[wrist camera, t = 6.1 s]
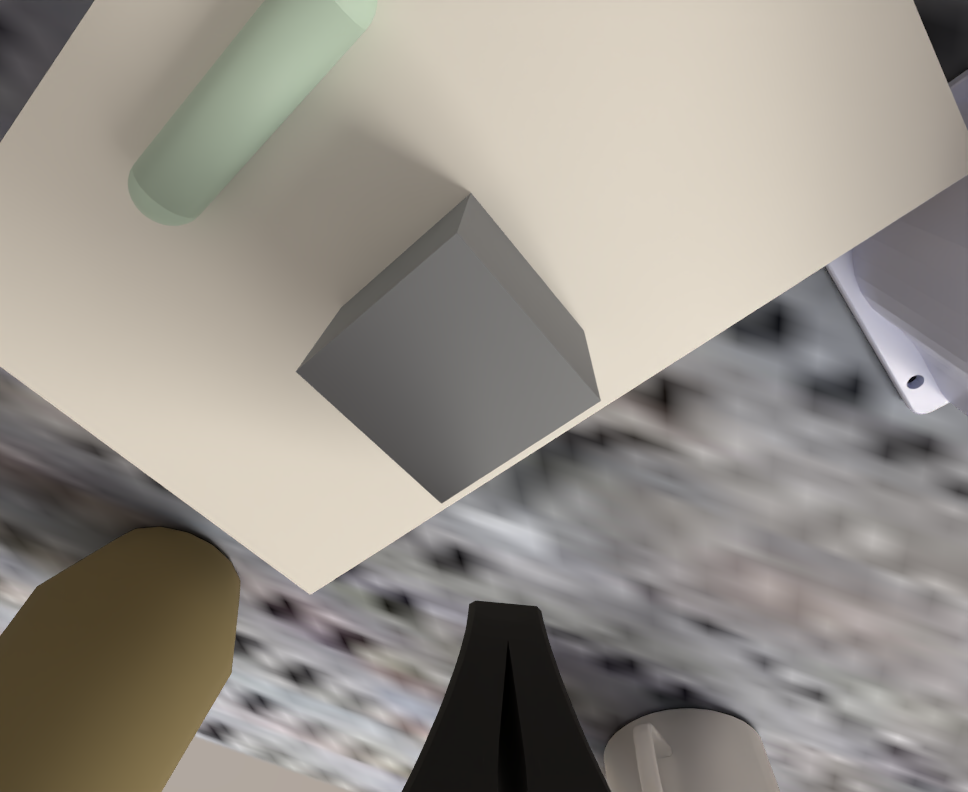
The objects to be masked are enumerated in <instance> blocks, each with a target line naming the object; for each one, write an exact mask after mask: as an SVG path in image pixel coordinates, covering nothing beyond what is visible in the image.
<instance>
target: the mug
mask: <svg viewBox="0 0 968 792" xmlns="http://www.w3.org/2000/svg"><path fill="white" fill-rule="evenodd" d="M604 764H605V772H606V779H607V784H608V786H609V788H610V790H611V792H780V790H779V787H778V784H777V781H776V779H775V776H774V773H773V770H772V768H771V765H770V762H769V759H768V757H767V754H766V751H765V748H764V746H763V743H762V740H761V737H760V736H759V735H758V733H757V732H756V731H755V729H753V728H752V727H751V726H749V725H748V724H747V723H745V722H744V721H742V720H740V719H737V718H735V717H733V716H730V715H727V714H723V713H720V712H716V711H712V710H706V709H699V708H679V709H669V710H664V711H659V712H654V713H651V714H648V715H645V716H642V717H640V718H638V719H636V720H634V721H632V722H630V723H629V724H627V725H626V726H624V727H623V728H622V729H620V730H619V731H618V732H616V733H615V734H614V736H613V737H612V738H611V739H610V740H609V742H608V744H607V746H606V748H605V751H604Z"/></svg>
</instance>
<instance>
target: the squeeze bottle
mask: <svg viewBox="0 0 968 792" xmlns="http://www.w3.org/2000/svg"><path fill="white" fill-rule="evenodd" d="M239 596H240V579H239V577H238V575H237V573H236V571H235V569H234V567H233V565H232V563H231V562H230V561H229V560H228V559H227V558H226V557H225V556H224V555H223V554H222V553H221V552H220V551H219V550H218V549H216V548H215V547H214V546H213V545H212V544H210V543H208V542H206V541H204V540H202V539H200V538H198V537H196V536H194V535H192V534H190V533H188V532H183V531H178V530H174V529H169V528H164V527H151V528H139V529H134V530H132V531H130V532H128V533H126V534H125V535H123V536H121V537H119V538H117V539H115V540H114V541H112V542H110V543H109V544H107V545H105V546H104V547H102V548H100V549H99V550H97V551H95V552H94V553H92V554H90V555H89V556H87V557H85V558H84V559H82V560H80V561H79V562H77V563H75V564H74V565H72V566H70V567H69V568H67V569H65V570H64V571H62V572H60V573H59V574H57V575H55V576H54V577H52V578H50V579H49V580H47V581H45V582H44V583H42V584H40V585H39V586H37V587H36V589H35V590H34V591H33V593H32V594H31V595H30V597H29V598H28V599H27V601H26V602H25V603H24V605H23V606H22V607H21V609H20V610H19V612H18V613H17V614H16V616H15V617H14V618H13V620H12V621H11V622H10V624H9V625H8V626H7V628H6V629H5V630H4V632H3V633H2V634H1V636H0V792H162V790H163V788H164V787H165V785H166V783H167V781H168V780H169V778H170V776H171V775H172V773H173V771H174V770H175V768H176V766H177V764H178V762H179V761H180V759H181V757H182V756H183V754H184V753H185V751H186V749H187V747H188V745H189V744H190V742H191V741H192V739H193V737H194V736H195V734H196V732H197V731H198V729H199V727H200V725H201V724H202V722H203V720H204V719H205V717H206V715H207V714H208V712H209V710H210V708H211V707H212V705H213V703H214V702H215V700H216V698H217V697H218V695H219V693H220V691H221V690H222V688H223V686H224V685H225V683H226V681H227V680H228V678H229V676H230V675H231V672H232V663H233V653H234V644H235V634H236V625H237V616H238V606H239Z"/></svg>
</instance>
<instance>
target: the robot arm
mask: <svg viewBox="0 0 968 792" xmlns="http://www.w3.org/2000/svg"><path fill="white" fill-rule="evenodd" d="M948 85H949V87H950V90H951V92H952V94H953V97H954V99H955V101H956V104H957V106H958V109H959V111H960V113H961V116H962V118H963V121H964V123H965V125H966V128H967V130H968V69H967V70H966V71H965V72H963V73H962V74H960V75H959V76H957V77H956V78H955V79H953V80H952V81H950V82H949V83H948ZM825 267H826V269H827V270H828V272H829V274H830V275H831V277H832V279H833V281H834V282H835V284H836V286H837V287H838V289H839V291H840V293H841V294H842V296H843V298H844V300H845V301H846V303H847V305H848V306H849V308H850V310H851V312H852V313H853V315H854V317H855V318H856V320H857V322H858V324H859V325H860V327H861V329H862V331H863V332H864V334H865V336H866V337H867V339H868V341H869V343H870V344H871V346H872V348H873V349H874V351H875V353H876V355H877V356H878V358H879V360H880V361H881V363H882V365H883V367H884V368H885V370H886V372H887V374H888V375H889V377H890V379H891V380H892V382H893V384H894V386H895V387H896V389H897V391H898V392H899V394H900V396H901V398H902V399H903V401H904V403H905V405H906V406H907V407H908V408H909V409H911V410H912V411H913V412H914V413H917V414H926V413H929V412H932V411H934V410H936V409H938V408H939V407H941V406H943V405H945V404H947V403H949V402H950V403H951V404H953V405H954V406H955V407H957V408H958V409H959V410H960V411H962V412H963V413H964V414H965V415H967V416H968V175H967V176H965V177H963V178H962V179H960V180H959V181H957V182H956V183H954V184H952V185H951V186H949V187H948V188H946V189H945V190H943V191H942V192H940V193H938V194H937V195H935V196H934V197H932V198H931V199H929V200H927V201H926V202H924V203H923V204H921V205H920V206H918V207H916V208H915V209H913V210H912V211H910V212H909V213H907V214H905V215H904V216H902V217H901V218H899V219H898V220H896V221H895V222H893V223H891V224H890V225H888V226H887V227H885V228H884V229H882V230H880V231H879V232H877V233H876V234H874V235H873V236H871V237H869V238H868V239H866V240H865V241H863V242H862V243H860V244H859V245H857V246H855V247H854V248H852V249H851V250H849V251H848V252H846V253H844V254H843V255H841V256H840V257H838V258H837V259H835V260H833V261H832V262H830V263H829V264H827V265H826V266H825ZM916 375H917V377H916V379H915V380H913V381H912V382H910V383H907V382H908V380H909V379H910V378H911V377H913V376H916ZM402 792H611V790H610V788H609V786H608V784H607V782H606V780H605V778H604V776H603V774H602V772H601V770H600V768H599V766H598V763H597V761H596V759H595V757H594V755H593V753H592V751H591V748H590V746H589V744H588V742H587V740H586V737H585V735H584V733H583V730H582V728H581V726H580V724H579V721H578V719H577V716H576V714H575V711H574V709H573V706H572V704H571V701H570V699H569V696H568V694H567V692H566V689H565V686H564V684H563V681H562V678H561V676H560V673H559V670H558V667H557V664H556V661H555V658H554V655H553V652H552V649H551V646H550V643H549V640H548V636H547V633H546V629H545V625H544V622H543V617H542V613H541V610H540V609H539V608H538V607H537V606H527V605H516V604H505V603H495V602H484V601H474V602H472V603H471V604H469V611H468V619H467V625H466V630H465V635H464V639H463V643H462V646H461V650H460V653H459V656H458V660H457V663H456V666H455V669H454V672H453V674H452V677H451V680H450V683H449V685H448V688H447V691H446V694H445V697H444V699H443V702H442V704H441V707H440V709H439V712H438V714H437V716H436V719H435V721H434V723H433V726H432V728H431V730H430V733H429V735H428V737H427V740H426V742H425V744H424V747H423V749H422V751H421V753H420V755H419V757H418V760H417V762H416V764H415V766H414V768H413V770H412V772H411V774H410V776H409V778H408V780H407V782H406V784H405V786H404V788H403V790H402Z"/></svg>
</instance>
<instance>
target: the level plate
mask: <svg viewBox="0 0 968 792" xmlns="http://www.w3.org/2000/svg"><path fill="white" fill-rule="evenodd" d="M967 175H968V130H967V128H966V125H965V123H964V121H963V118H962V116H961V113H960V111H959V109H958V106H957V104H956V101H955V99H954V97H953V94H952V92H951V90H950V87H949V85H948V82H947V80H946V78H945V75H944V73H943V70H942V68H941V66H940V63H939V61H938V59H937V56H936V54H935V51H934V49H933V47H932V44H931V42H930V39H929V37H928V35H927V32H926V30H925V28H924V25H923V23H922V20H921V18H920V16H919V13H918V11H917V8H916V6H915V4H914V1H913V0H95V1H94V2H93V4H92V5H91V7H90V8H89V10H88V11H87V13H86V14H85V16H84V17H83V19H82V20H81V22H80V23H79V25H78V26H77V28H76V29H75V31H74V32H73V34H72V35H71V37H70V38H69V40H68V41H67V43H66V44H65V46H64V47H63V49H62V50H61V52H60V53H59V55H58V56H57V58H56V59H55V61H54V62H53V64H52V65H51V67H50V68H49V70H48V71H47V73H46V74H45V76H44V77H43V79H42V80H41V82H40V83H39V85H38V86H37V88H36V89H35V91H34V93H33V94H32V96H31V97H30V99H29V100H28V102H27V103H26V105H25V106H24V108H23V109H22V111H21V112H20V114H19V115H18V117H17V118H16V120H15V121H14V123H13V124H12V126H11V127H10V129H9V130H8V132H7V133H6V135H5V136H4V138H3V139H2V141H1V142H0V367H2V368H3V369H4V370H6V371H7V372H8V373H10V374H11V375H13V376H14V377H15V378H17V379H18V380H19V381H21V382H22V383H23V384H25V385H26V386H28V387H29V388H30V389H32V390H33V391H34V392H36V393H37V394H38V395H40V396H41V397H42V398H44V399H45V400H47V401H48V402H49V403H51V404H52V405H53V406H55V407H56V408H57V409H59V410H60V411H61V412H63V413H64V414H66V415H67V416H68V417H70V418H71V419H72V420H74V421H75V422H76V423H78V424H79V425H80V426H82V427H83V428H85V429H86V430H87V431H89V432H90V433H91V434H93V435H94V436H95V437H97V438H98V439H99V440H101V441H102V442H104V443H105V444H106V445H108V446H109V447H110V448H112V449H113V450H114V451H116V452H117V453H119V454H120V455H121V456H123V457H124V458H125V459H127V460H128V461H129V462H131V463H132V464H133V465H135V466H136V467H138V468H139V469H140V470H142V471H143V472H144V473H146V474H147V475H148V476H150V477H151V478H152V479H154V480H155V481H157V482H158V483H159V484H161V485H162V486H163V487H165V488H166V489H167V490H169V491H170V492H171V493H173V494H174V495H176V496H177V497H178V498H180V499H181V500H182V501H184V502H185V503H186V504H188V505H189V506H191V507H192V508H193V509H195V510H196V511H197V512H199V513H200V514H201V515H203V516H204V517H205V518H207V519H208V520H210V521H211V522H212V523H214V524H215V525H216V526H218V527H219V528H220V529H222V530H223V531H224V532H226V533H227V534H229V535H230V536H231V537H233V538H234V539H235V540H237V541H238V542H239V543H241V544H242V545H243V546H245V547H246V548H248V549H249V550H250V551H252V552H253V553H254V554H256V555H257V556H258V557H260V558H261V559H262V560H264V561H265V562H267V563H268V564H269V565H271V566H272V567H273V568H275V569H276V570H277V571H279V572H280V573H282V574H283V575H284V576H286V577H287V578H288V579H290V580H291V581H292V582H294V583H295V584H296V585H298V586H299V587H301V588H302V589H303V590H305V591H306V592H307V593H309V594H310V595H311V594H312V593H314V592H315V591H317V590H318V589H320V588H322V587H323V586H325V585H326V584H328V583H329V582H331V581H333V580H334V579H336V578H337V577H339V576H340V575H342V574H343V573H345V572H347V571H348V570H350V569H351V568H353V567H354V566H356V565H358V564H359V563H361V562H362V561H364V560H365V559H367V558H369V557H370V556H372V555H373V554H375V553H376V552H378V551H379V550H381V549H383V548H384V547H386V546H387V545H389V544H390V543H392V542H394V541H395V540H397V539H398V538H400V537H401V536H403V535H405V534H406V533H408V532H409V531H411V530H412V529H414V528H415V527H417V526H419V525H420V524H422V523H423V522H425V521H426V520H428V519H430V518H431V517H433V516H434V515H436V514H437V513H439V512H441V511H442V510H444V509H445V508H447V507H448V506H450V505H452V504H453V503H455V502H456V501H458V500H459V499H461V498H462V497H464V496H466V495H467V494H469V493H470V492H472V491H473V490H475V489H477V488H478V487H480V486H481V485H483V484H484V483H486V482H488V481H489V480H491V479H492V478H494V477H495V476H497V475H498V474H500V473H502V472H503V471H505V470H506V469H508V468H509V467H511V466H513V465H514V464H516V463H517V462H519V461H520V460H522V459H524V458H525V457H527V456H528V455H530V454H531V453H533V452H534V451H536V450H538V449H539V448H541V447H542V446H544V445H545V444H547V443H549V442H550V441H552V440H553V439H555V438H556V437H558V436H560V435H561V434H563V433H564V432H566V431H567V430H569V429H570V428H572V427H574V426H575V425H577V424H578V423H580V422H581V421H583V420H585V419H586V418H588V417H589V416H591V415H592V414H594V413H596V412H597V411H599V410H600V409H602V408H603V407H605V406H606V405H608V404H610V403H611V402H613V401H614V400H616V399H617V398H619V397H621V396H622V395H624V394H625V393H627V392H628V391H630V390H632V389H633V388H635V387H636V386H638V385H639V384H641V383H642V382H644V381H646V380H647V379H649V378H650V377H652V376H653V375H655V374H657V373H658V372H660V371H661V370H663V369H664V368H666V367H668V366H669V365H671V364H672V363H674V362H675V361H677V360H678V359H680V358H682V357H683V356H685V355H686V354H688V353H689V352H691V351H693V350H694V349H696V348H697V347H699V346H700V345H702V344H704V343H705V342H707V341H708V340H710V339H711V338H713V337H715V336H716V335H718V334H719V333H721V332H722V331H724V330H725V329H727V328H729V327H730V326H732V325H733V324H735V323H736V322H738V321H740V320H741V319H743V318H744V317H746V316H747V315H749V314H751V313H752V312H754V311H755V310H757V309H758V308H760V307H761V306H763V305H765V304H766V303H768V302H769V301H771V300H772V299H774V298H776V297H777V296H779V295H780V294H782V293H783V292H785V291H787V290H788V289H790V288H791V287H793V286H794V285H796V284H797V283H799V282H801V281H802V280H804V279H805V278H807V277H808V276H810V275H812V274H813V273H815V272H816V271H818V270H819V269H821V268H823V267H824V266H826V265H827V264H829V263H830V262H832V261H833V260H835V259H837V258H838V257H840V256H841V255H843V254H844V253H846V252H848V251H849V250H851V249H852V248H854V247H855V246H857V245H859V244H860V243H862V242H863V241H865V240H866V239H868V238H869V237H871V236H873V235H874V234H876V233H877V232H879V231H880V230H882V229H884V228H885V227H887V226H888V225H890V224H891V223H893V222H895V221H896V220H898V219H899V218H901V217H902V216H904V215H905V214H907V213H909V212H910V211H912V210H913V209H915V208H916V207H918V206H920V205H921V204H923V203H924V202H926V201H927V200H929V199H931V198H932V197H934V196H935V195H937V194H938V193H940V192H942V191H943V190H945V189H946V188H948V187H949V186H951V185H952V184H954V183H956V182H957V181H959V180H960V179H962V178H963V177H965V176H967Z"/></svg>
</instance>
